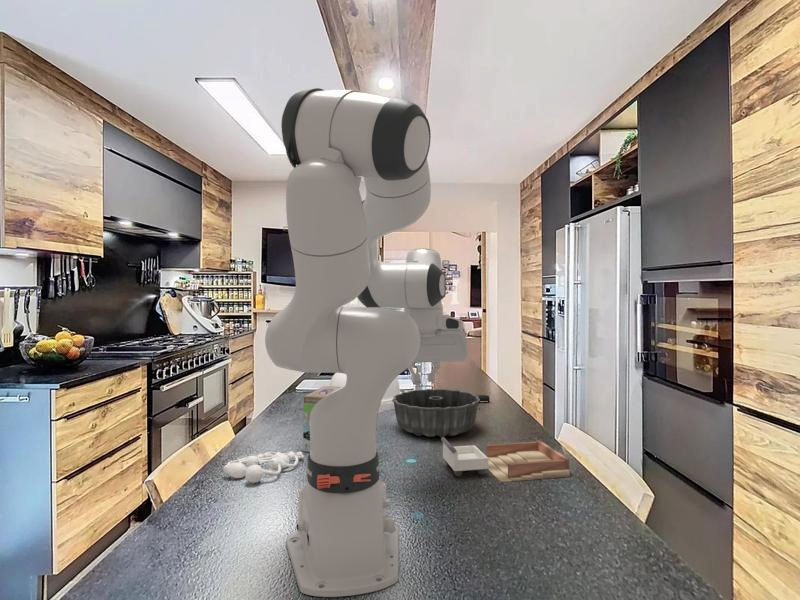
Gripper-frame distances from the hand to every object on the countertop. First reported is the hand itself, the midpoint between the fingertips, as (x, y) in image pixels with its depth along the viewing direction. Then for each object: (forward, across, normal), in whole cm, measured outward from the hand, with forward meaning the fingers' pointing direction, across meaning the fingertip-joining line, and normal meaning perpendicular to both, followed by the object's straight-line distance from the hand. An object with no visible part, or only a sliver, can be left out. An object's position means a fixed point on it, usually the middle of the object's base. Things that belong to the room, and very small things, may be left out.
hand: (423, 381), depth 107 cm
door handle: (+22, +30, +60) cm, 70 cm away
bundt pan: (+21, +12, +33) cm, 41 cm away
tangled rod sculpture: (+22, -36, +10) cm, 43 cm away
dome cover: (+22, -5, +72) cm, 75 cm away
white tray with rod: (+21, +10, 0) cm, 23 cm away
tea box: (+21, -20, +25) cm, 39 cm away
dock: (+21, +24, 0) cm, 32 cm away
